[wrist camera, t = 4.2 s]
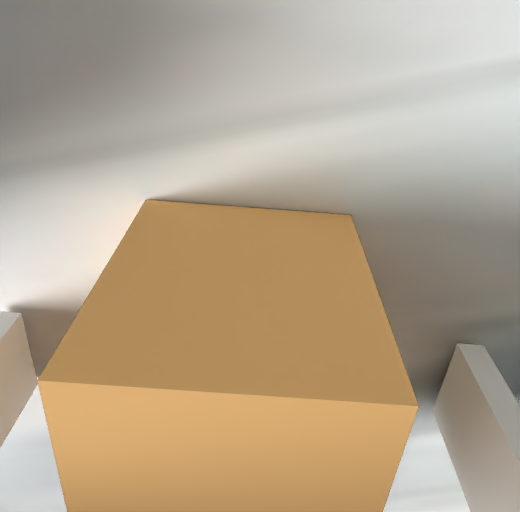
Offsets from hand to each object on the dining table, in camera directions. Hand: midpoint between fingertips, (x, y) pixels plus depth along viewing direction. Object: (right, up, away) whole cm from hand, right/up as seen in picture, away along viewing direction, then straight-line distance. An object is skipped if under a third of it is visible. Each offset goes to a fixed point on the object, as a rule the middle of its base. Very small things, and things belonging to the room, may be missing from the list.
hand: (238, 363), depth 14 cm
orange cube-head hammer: (0, -4, +2) cm, 4 cm away
